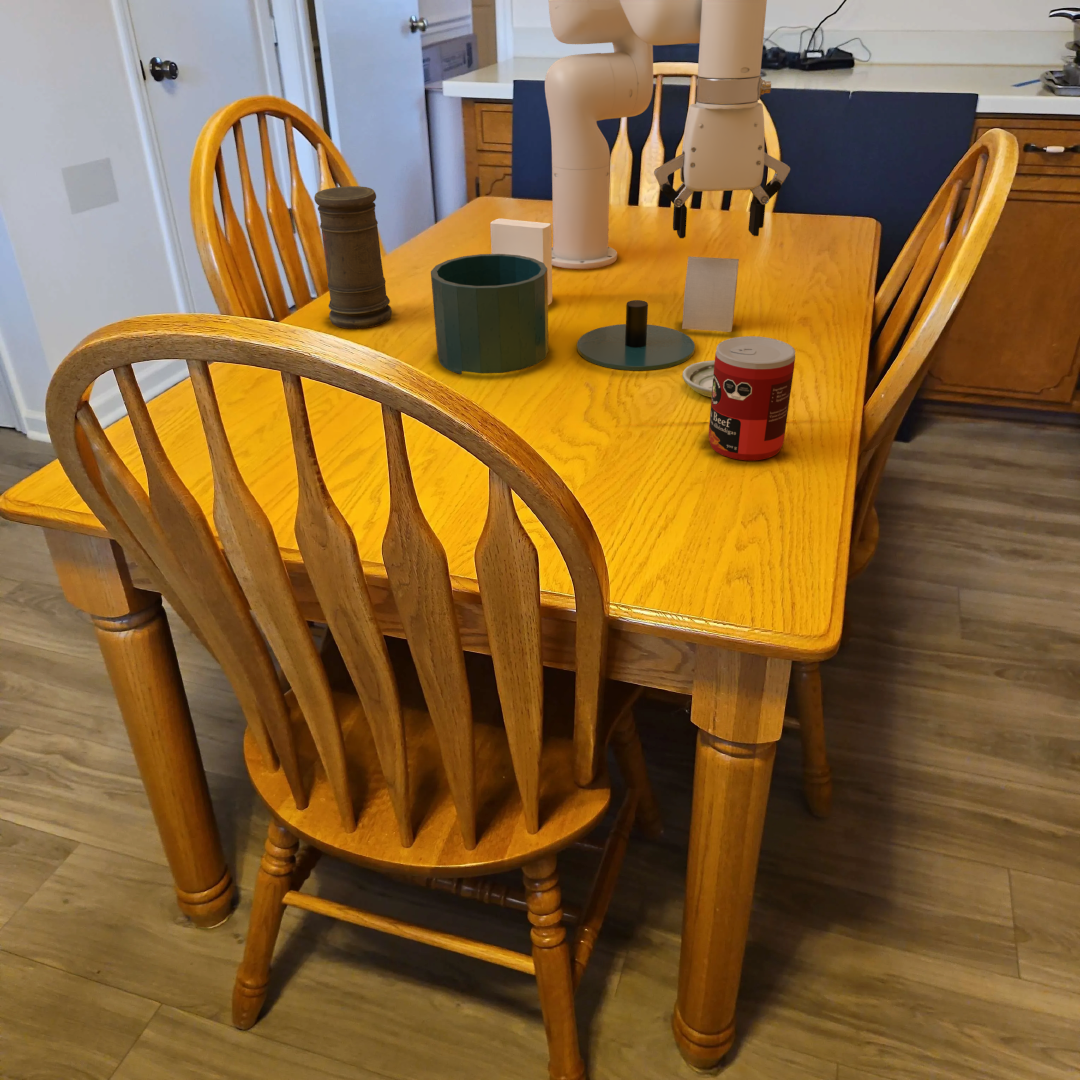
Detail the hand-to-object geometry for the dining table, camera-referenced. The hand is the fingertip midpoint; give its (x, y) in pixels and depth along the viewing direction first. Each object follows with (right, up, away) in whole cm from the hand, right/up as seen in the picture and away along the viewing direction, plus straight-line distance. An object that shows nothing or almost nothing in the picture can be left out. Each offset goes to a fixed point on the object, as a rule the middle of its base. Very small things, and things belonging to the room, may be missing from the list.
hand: (717, 234), depth 123 cm
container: (-50, -8, +14) cm, 53 cm away
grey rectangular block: (0, -11, +8) cm, 13 cm away
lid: (-11, -15, 0) cm, 19 cm away
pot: (-30, -16, +1) cm, 34 cm away
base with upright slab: (-26, -5, +18) cm, 32 cm away
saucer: (-2, -23, -11) cm, 26 cm away
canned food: (-1, -31, -23) cm, 38 cm away
